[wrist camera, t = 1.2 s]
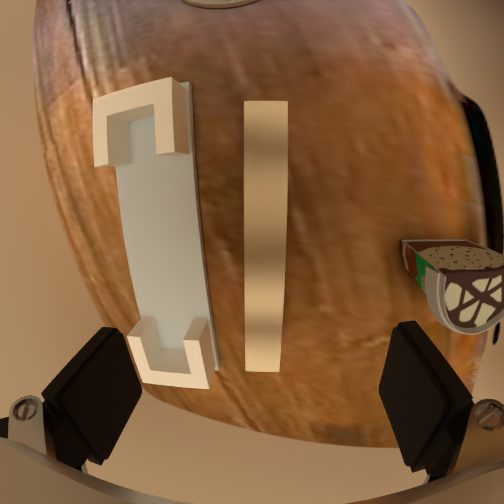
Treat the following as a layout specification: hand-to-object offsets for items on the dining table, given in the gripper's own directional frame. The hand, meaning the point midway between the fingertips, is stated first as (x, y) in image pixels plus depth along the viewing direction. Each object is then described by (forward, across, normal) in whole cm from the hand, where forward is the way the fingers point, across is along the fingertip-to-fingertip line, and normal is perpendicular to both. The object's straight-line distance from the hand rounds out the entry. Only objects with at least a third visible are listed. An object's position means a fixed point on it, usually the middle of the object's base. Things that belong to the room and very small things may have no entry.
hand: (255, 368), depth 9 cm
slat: (+18, 0, 0) cm, 18 cm away
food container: (+18, -18, +4) cm, 26 cm away
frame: (+18, +10, 0) cm, 21 cm away
